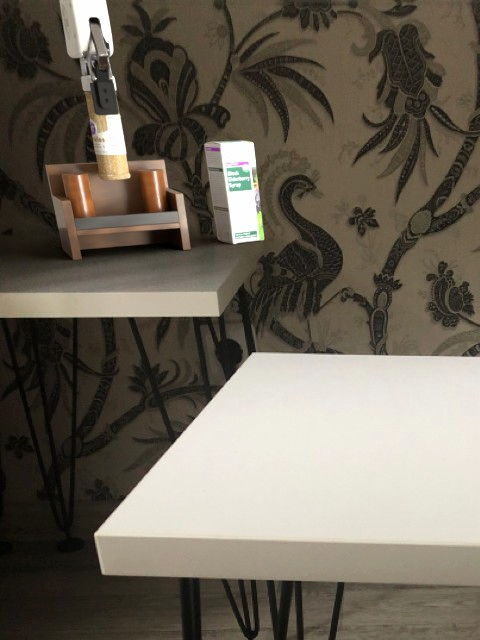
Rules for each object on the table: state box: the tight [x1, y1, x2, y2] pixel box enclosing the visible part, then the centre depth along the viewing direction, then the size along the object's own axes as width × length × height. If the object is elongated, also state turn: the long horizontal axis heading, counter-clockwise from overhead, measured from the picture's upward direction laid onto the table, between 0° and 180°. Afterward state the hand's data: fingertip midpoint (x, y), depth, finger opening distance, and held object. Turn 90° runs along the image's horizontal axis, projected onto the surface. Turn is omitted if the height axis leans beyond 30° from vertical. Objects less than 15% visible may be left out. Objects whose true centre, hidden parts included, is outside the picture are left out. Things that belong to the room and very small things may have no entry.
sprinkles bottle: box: [80, 75, 130, 180], centre depth 133 cm, size 5×5×13 cm
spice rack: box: [44, 159, 192, 261], centre depth 139 cm, size 17×10×12 cm, turn 119°
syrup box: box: [203, 140, 265, 245], centre depth 145 cm, size 6×6×14 cm
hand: (103, 112), depth 132 cm, fingers closed on sprinkles bottle, 4 cm apart
